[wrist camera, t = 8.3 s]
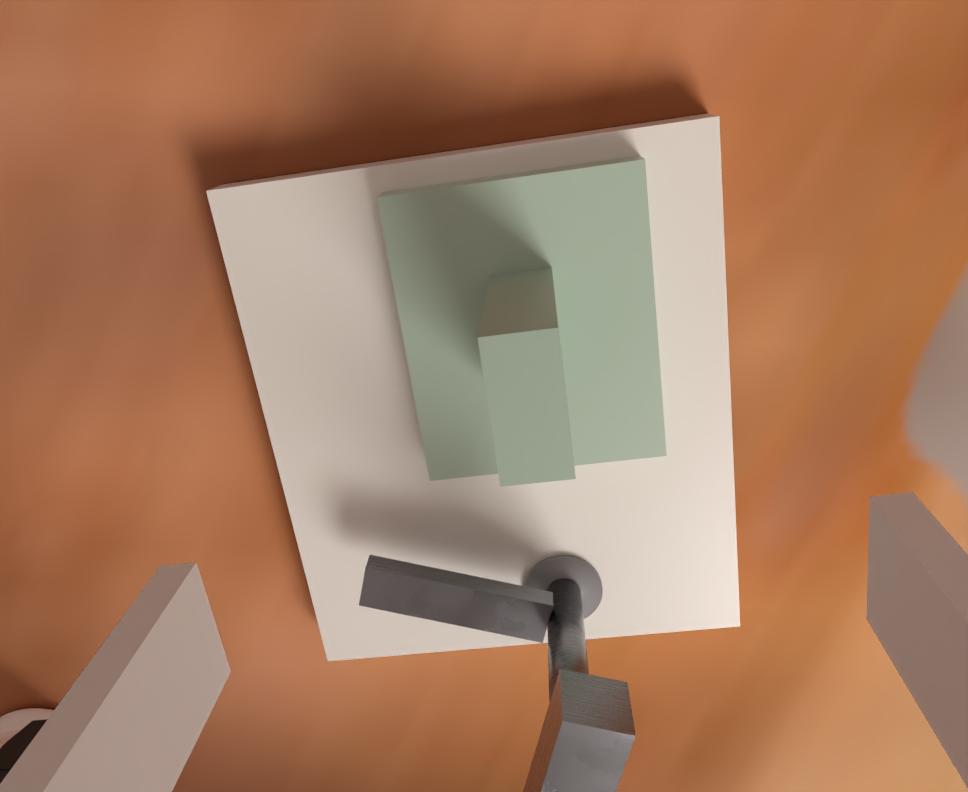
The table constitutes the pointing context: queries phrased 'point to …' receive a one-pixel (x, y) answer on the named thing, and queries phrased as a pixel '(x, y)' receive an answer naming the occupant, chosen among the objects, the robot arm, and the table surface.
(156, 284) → the table surface
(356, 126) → the table surface
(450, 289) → the cover
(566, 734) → the grey angled block piece
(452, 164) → the lock base
